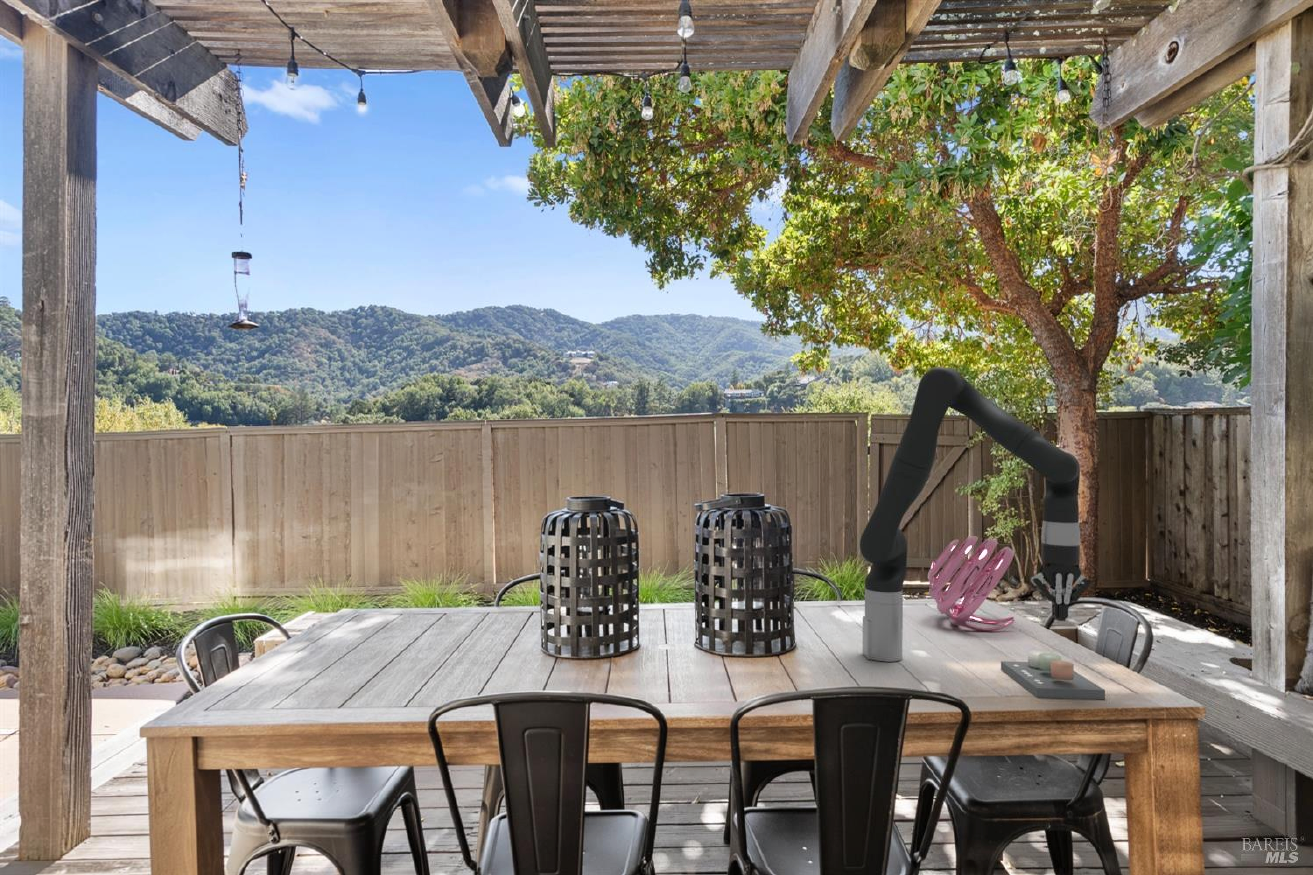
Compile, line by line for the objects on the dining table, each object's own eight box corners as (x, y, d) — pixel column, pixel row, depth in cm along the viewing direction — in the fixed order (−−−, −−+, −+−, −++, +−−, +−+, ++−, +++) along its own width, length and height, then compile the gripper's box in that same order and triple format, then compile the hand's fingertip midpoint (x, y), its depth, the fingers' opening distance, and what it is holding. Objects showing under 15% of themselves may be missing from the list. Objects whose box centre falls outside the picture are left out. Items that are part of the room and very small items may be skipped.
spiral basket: (1054, 560, 225) (972, 507, 234) (1045, 599, 202) (955, 537, 211) (997, 624, 238) (922, 571, 247) (983, 666, 215) (901, 606, 224)
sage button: (1044, 671, 169) (1044, 658, 169) (1035, 665, 173) (1035, 652, 173) (1064, 672, 169) (1064, 658, 169) (1055, 666, 173) (1055, 653, 173)
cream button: (1032, 668, 175) (1032, 655, 175) (1024, 662, 179) (1024, 650, 179) (1052, 668, 175) (1052, 655, 175) (1043, 663, 179) (1043, 650, 179)
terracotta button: (1056, 679, 163) (1056, 666, 163) (1047, 673, 167) (1047, 660, 167) (1077, 680, 163) (1077, 666, 163) (1067, 674, 167) (1067, 660, 167)
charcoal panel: (1037, 697, 161) (1037, 687, 161) (1000, 669, 181) (1001, 660, 181) (1104, 699, 160) (1105, 689, 160) (1061, 671, 180) (1061, 661, 180)
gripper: (1037, 543, 164) (1037, 623, 164) (1100, 544, 163) (1099, 624, 163) (1022, 539, 171) (1022, 615, 171) (1082, 540, 171) (1082, 616, 170)
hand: (1060, 620), depth 167 cm, fingers closed
